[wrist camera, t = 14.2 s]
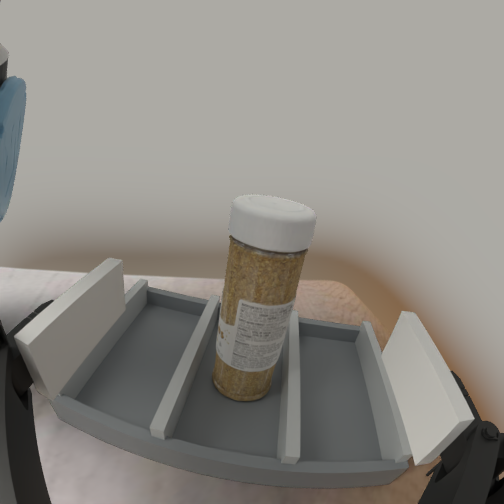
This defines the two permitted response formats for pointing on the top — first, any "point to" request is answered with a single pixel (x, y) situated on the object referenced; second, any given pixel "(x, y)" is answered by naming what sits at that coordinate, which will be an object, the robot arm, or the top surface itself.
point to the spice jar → (259, 291)
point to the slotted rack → (239, 412)
